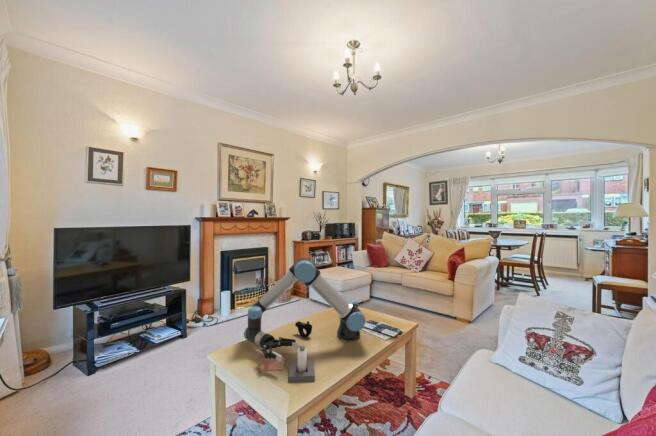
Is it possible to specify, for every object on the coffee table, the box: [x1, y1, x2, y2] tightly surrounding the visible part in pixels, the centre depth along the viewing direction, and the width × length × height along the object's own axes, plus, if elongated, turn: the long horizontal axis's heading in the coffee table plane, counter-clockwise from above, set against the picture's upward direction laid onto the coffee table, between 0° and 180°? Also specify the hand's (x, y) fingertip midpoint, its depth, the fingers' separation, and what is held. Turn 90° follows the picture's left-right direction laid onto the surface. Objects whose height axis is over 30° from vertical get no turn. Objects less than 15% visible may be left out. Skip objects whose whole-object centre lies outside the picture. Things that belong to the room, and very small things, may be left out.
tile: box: [258, 356, 286, 373], centre depth 143 cm, size 12×12×1 cm
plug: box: [296, 344, 308, 372], centre depth 135 cm, size 4×4×14 cm
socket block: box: [288, 361, 316, 383], centre depth 135 cm, size 12×12×3 cm
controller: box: [294, 320, 313, 338], centre depth 178 cm, size 4×12×10 cm, turn 58°
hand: (291, 353), depth 139 cm, fingers open, 13 cm apart
